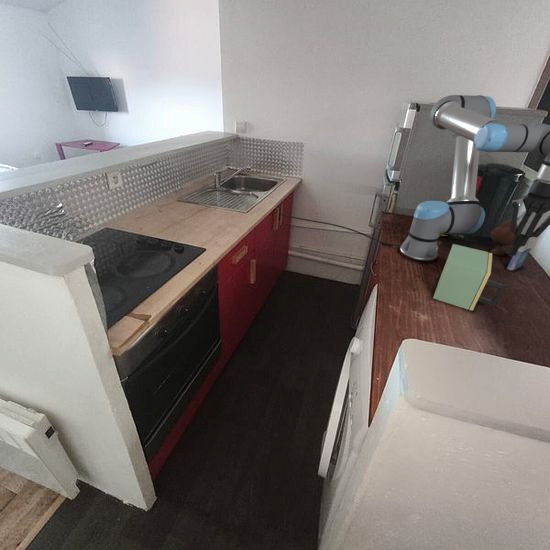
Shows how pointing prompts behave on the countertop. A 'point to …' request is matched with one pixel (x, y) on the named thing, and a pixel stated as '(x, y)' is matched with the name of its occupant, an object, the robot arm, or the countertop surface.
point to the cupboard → (461, 276)
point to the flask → (519, 257)
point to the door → (491, 283)
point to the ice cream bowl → (502, 237)
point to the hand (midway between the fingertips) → (512, 253)
